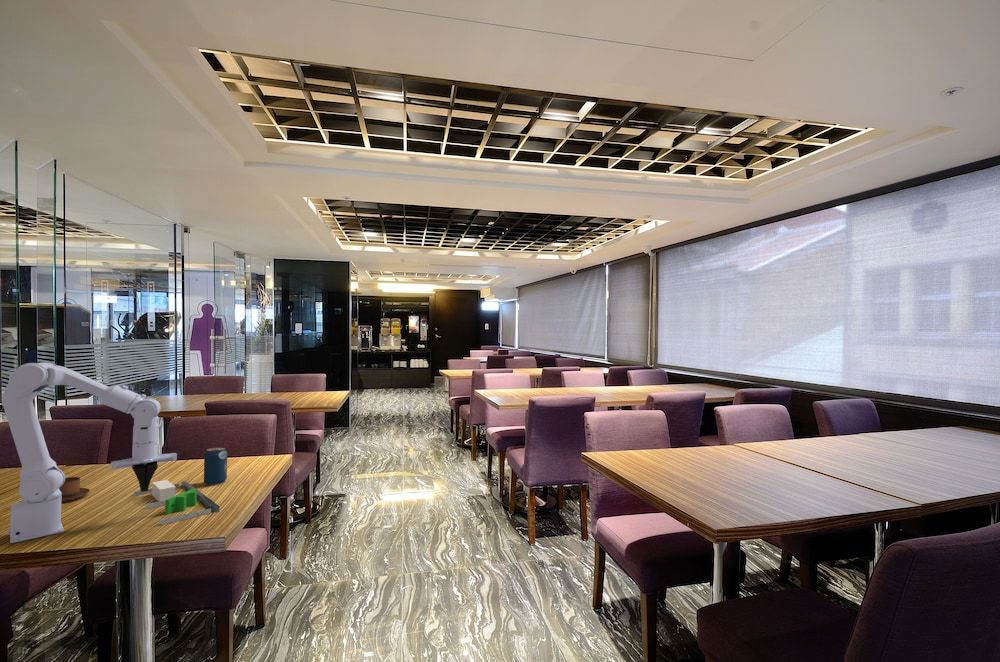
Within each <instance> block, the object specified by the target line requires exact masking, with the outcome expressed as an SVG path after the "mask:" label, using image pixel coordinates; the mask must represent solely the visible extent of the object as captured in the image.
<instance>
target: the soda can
mask: <svg viewBox="0 0 1000 662" xmlns="http://www.w3.org/2000/svg"><path fill="white" fill-rule="evenodd" d="M203 458H204V459H203V482H204V484H205V485H206V486H218V485H222V484H224V483H225V482H226V480H227V478H228V451H227V450H226V447H225V446H218V447H217V446H216V447H210V448H207V449H206V451H205V452H204V457H203Z"/></svg>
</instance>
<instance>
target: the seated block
mask: <svg viewBox="0 0 1000 662" xmlns="http://www.w3.org/2000/svg"><path fill="white" fill-rule="evenodd" d="M173 484H174V483H172V482H171V481H170V480H168V479H164V480H159V481H153V482H151V488H152V493H151V495H152V496H153V498H155V500H156V501H157V502H160V501H165V500H167V499H169V498H172V497H174V496H176V489H177V488H176V487H175V486H174V485H173Z"/></svg>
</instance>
